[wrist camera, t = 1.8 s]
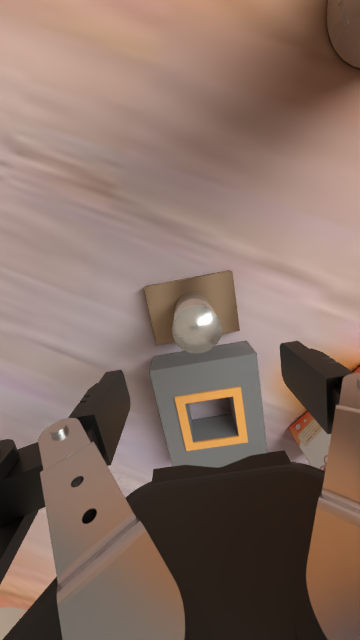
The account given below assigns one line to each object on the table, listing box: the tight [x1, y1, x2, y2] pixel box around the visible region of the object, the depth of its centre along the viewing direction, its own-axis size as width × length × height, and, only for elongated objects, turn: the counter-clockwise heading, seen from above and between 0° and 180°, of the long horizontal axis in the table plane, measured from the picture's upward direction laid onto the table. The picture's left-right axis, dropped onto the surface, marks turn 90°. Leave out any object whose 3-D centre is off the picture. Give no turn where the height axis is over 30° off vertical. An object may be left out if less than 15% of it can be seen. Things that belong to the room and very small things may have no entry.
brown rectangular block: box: [144, 270, 240, 345], centre depth 27 cm, size 10×7×2 cm
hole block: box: [149, 341, 267, 468], centre depth 29 cm, size 12×15×4 cm
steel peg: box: [172, 292, 221, 354], centre depth 23 cm, size 4×4×8 cm
